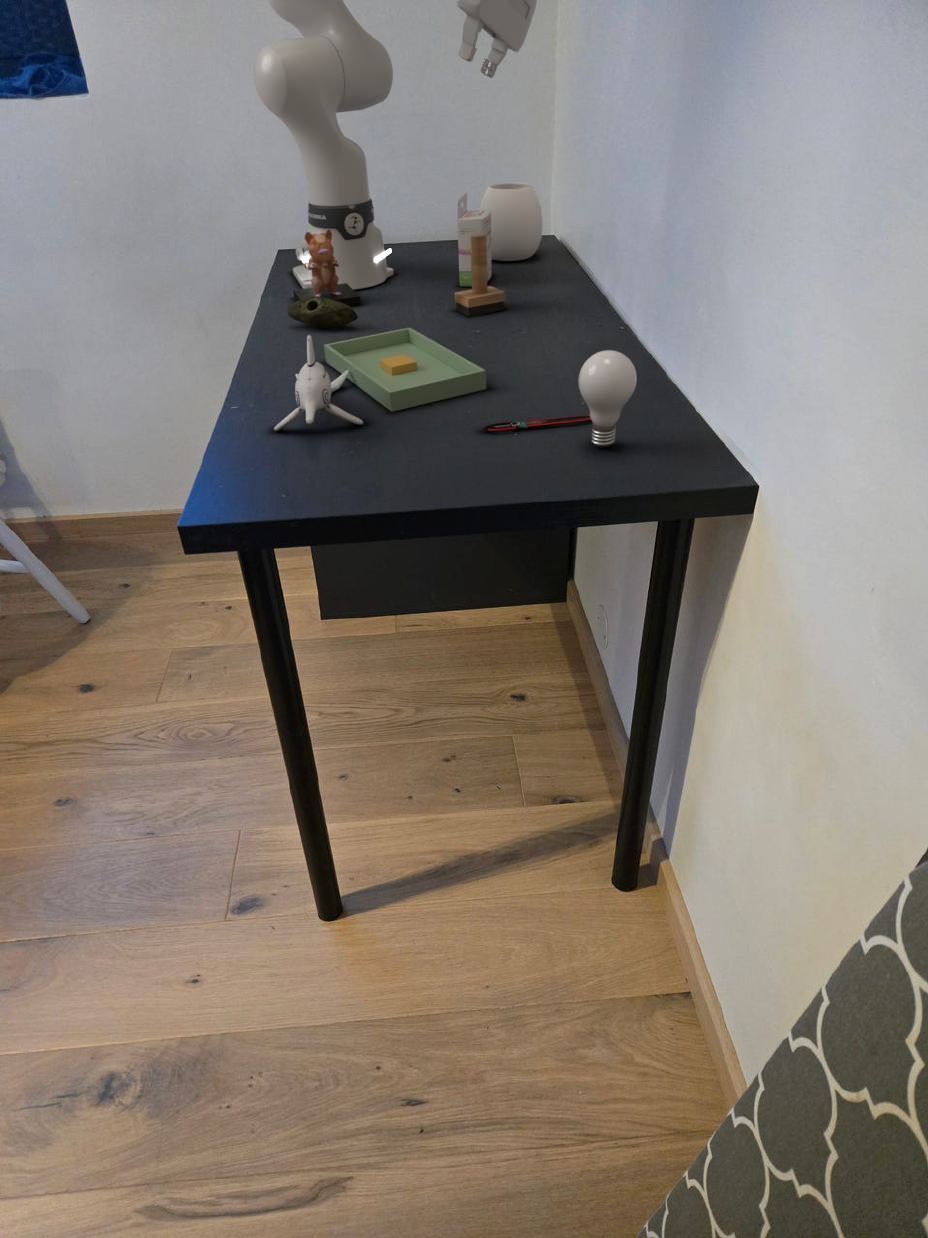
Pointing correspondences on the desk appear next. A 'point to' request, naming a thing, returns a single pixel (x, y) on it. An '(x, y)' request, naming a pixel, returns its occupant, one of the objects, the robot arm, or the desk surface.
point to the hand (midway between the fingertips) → (475, 67)
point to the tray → (429, 383)
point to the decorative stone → (321, 312)
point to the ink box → (470, 225)
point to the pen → (533, 423)
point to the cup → (513, 220)
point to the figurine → (325, 273)
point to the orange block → (398, 364)
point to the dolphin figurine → (315, 391)
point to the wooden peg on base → (479, 284)
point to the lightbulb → (606, 392)
